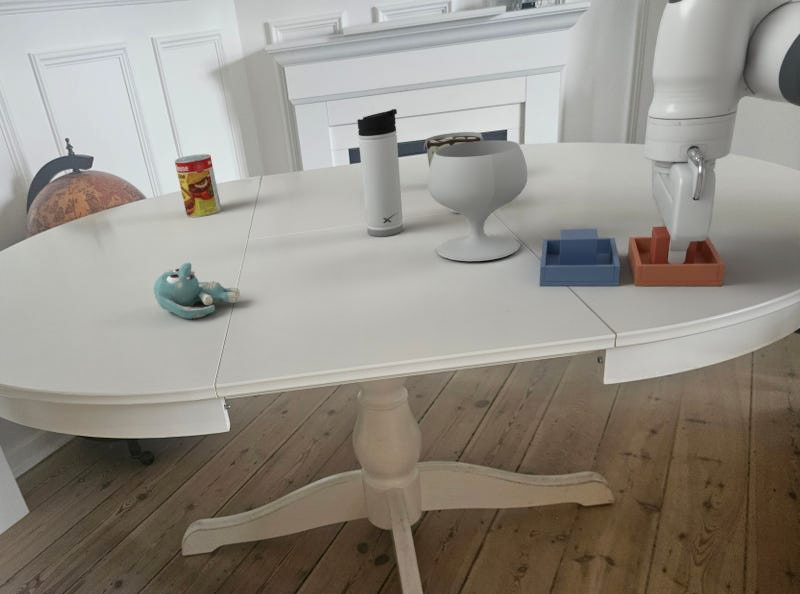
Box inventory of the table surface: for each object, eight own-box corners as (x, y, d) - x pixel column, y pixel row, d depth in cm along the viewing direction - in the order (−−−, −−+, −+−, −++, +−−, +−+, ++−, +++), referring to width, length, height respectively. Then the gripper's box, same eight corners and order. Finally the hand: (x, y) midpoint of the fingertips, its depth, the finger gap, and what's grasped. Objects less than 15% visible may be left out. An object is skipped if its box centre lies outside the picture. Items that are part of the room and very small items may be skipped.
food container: (483, 177, 138) (482, 129, 133) (484, 183, 132) (484, 133, 128) (426, 182, 140) (423, 135, 136) (425, 188, 135) (423, 140, 130)
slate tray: (613, 255, 87) (614, 237, 86) (618, 286, 78) (620, 266, 76) (542, 256, 90) (543, 239, 89) (539, 286, 81) (540, 266, 80)
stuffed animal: (229, 281, 81) (138, 272, 82) (229, 331, 85) (142, 322, 85) (246, 254, 91) (165, 247, 91) (246, 300, 94) (167, 293, 95)
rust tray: (704, 254, 83) (707, 235, 82) (721, 286, 74) (725, 265, 73) (627, 255, 86) (629, 237, 85) (634, 286, 77) (636, 265, 76)
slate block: (594, 260, 85) (596, 228, 83) (595, 271, 81) (598, 238, 79) (559, 260, 86) (560, 229, 84) (559, 272, 82) (560, 239, 80)
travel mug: (396, 237, 107) (387, 112, 98) (361, 236, 110) (349, 115, 101) (410, 226, 112) (402, 106, 102) (376, 225, 115) (366, 109, 106)
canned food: (184, 212, 145) (172, 158, 140) (218, 205, 147) (207, 152, 141) (189, 219, 138) (176, 163, 133) (224, 212, 140) (213, 156, 135)
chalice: (540, 257, 90) (543, 148, 83) (443, 271, 90) (439, 164, 83) (507, 231, 102) (508, 134, 95) (422, 243, 102) (417, 148, 95)
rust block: (687, 259, 81) (691, 225, 79) (692, 271, 77) (697, 236, 75) (648, 259, 82) (652, 226, 80) (652, 271, 79) (656, 237, 77)
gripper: (739, 155, 63) (717, 284, 69) (703, 123, 80) (687, 229, 86) (668, 160, 65) (653, 284, 72) (647, 127, 82) (636, 230, 88)
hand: (671, 254), depth 79 cm, fingers open, 5 cm apart
